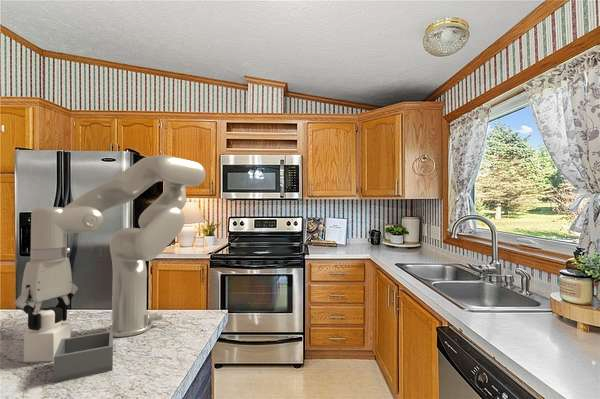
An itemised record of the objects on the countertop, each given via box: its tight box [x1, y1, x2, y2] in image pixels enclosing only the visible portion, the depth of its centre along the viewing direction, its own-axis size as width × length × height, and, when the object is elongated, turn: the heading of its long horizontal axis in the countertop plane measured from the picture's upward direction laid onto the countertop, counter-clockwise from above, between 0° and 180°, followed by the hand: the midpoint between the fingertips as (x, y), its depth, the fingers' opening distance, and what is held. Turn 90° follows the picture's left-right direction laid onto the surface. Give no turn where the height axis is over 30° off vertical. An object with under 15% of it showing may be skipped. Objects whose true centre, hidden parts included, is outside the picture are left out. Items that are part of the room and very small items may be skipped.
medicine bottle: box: [22, 306, 72, 363], centre depth 85 cm, size 7×7×12 cm
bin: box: [53, 331, 114, 383], centre depth 80 cm, size 11×11×6 cm
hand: (48, 324), depth 85 cm, fingers closed on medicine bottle, 6 cm apart
